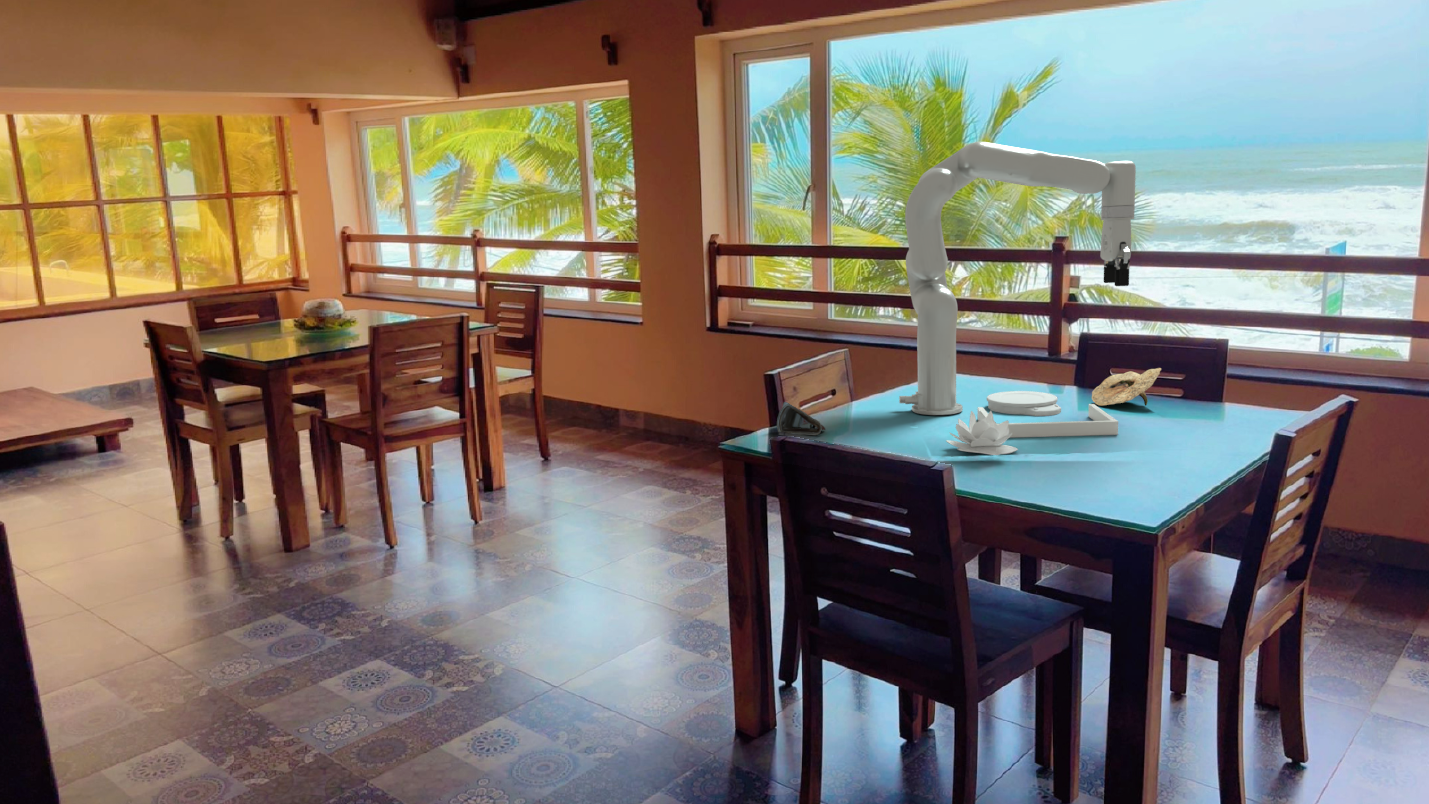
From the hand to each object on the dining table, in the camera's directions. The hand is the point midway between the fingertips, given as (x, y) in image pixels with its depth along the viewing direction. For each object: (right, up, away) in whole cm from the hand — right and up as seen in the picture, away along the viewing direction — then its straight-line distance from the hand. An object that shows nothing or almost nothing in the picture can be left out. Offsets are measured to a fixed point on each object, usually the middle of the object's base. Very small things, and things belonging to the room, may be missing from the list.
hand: (1115, 284), depth 260 cm
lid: (-20, -31, +7) cm, 38 cm away
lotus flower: (-41, -40, -33) cm, 66 cm away
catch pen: (-22, -35, -13) cm, 43 cm away
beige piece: (+7, -31, +6) cm, 32 cm away
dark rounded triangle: (-74, -39, -11) cm, 84 cm away
